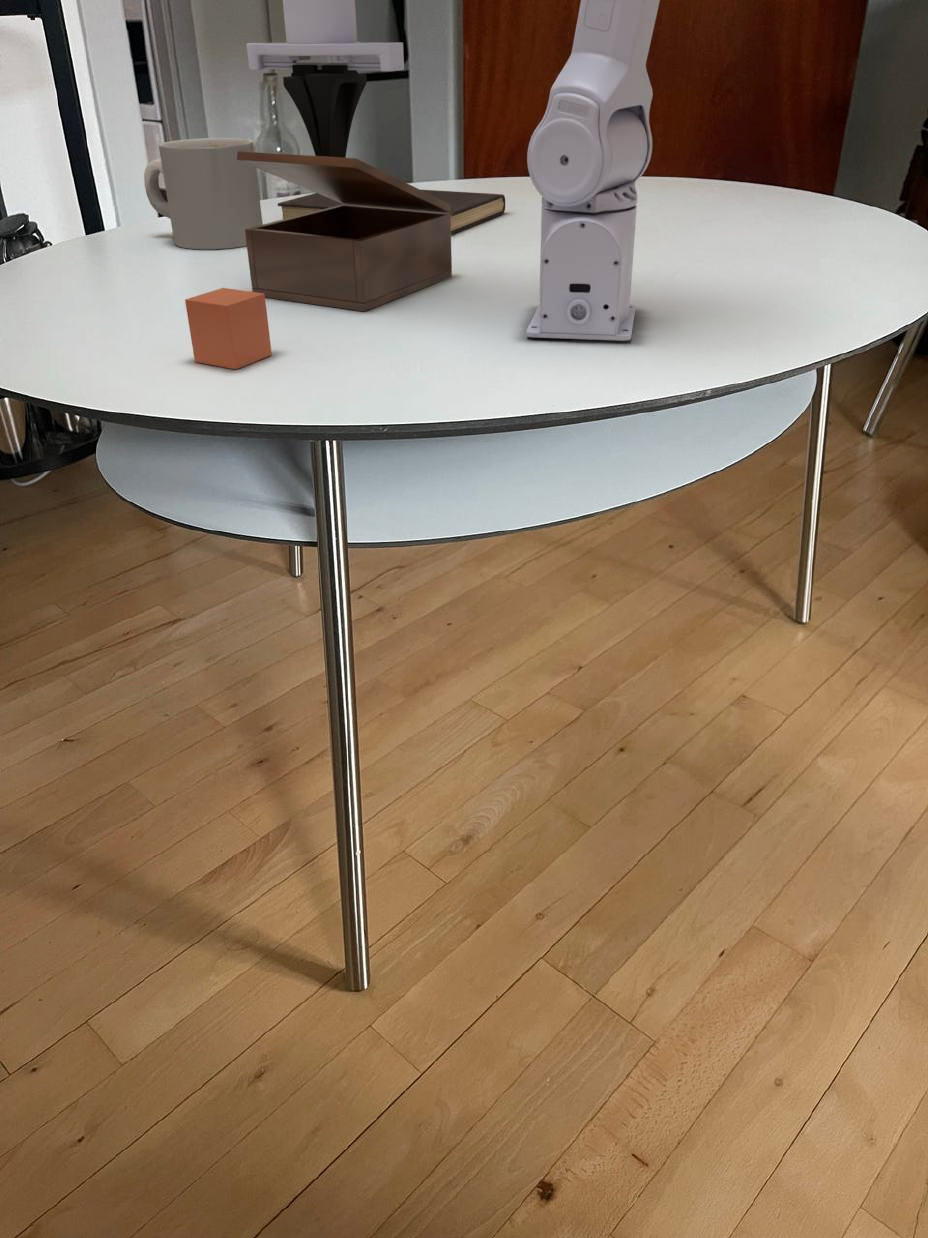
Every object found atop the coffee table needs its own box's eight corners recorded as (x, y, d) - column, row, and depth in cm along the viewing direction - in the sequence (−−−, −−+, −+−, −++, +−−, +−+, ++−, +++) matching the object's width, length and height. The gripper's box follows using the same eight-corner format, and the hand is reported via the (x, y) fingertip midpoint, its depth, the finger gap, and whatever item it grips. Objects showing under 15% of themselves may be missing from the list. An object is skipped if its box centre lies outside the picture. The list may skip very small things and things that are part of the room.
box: (364, 311, 84) (359, 240, 81) (252, 295, 89) (244, 228, 86) (452, 276, 94) (450, 213, 91) (347, 264, 100) (342, 203, 97)
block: (272, 355, 74) (265, 293, 71) (235, 369, 71) (227, 305, 68) (231, 347, 75) (223, 287, 73) (194, 361, 72) (184, 299, 70)
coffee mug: (282, 236, 113) (272, 139, 108) (221, 252, 106) (206, 149, 101) (197, 226, 119) (183, 134, 114) (134, 241, 112) (116, 143, 107)
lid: (355, 167, 78) (356, 157, 78) (236, 159, 84) (237, 150, 83) (450, 212, 91) (451, 204, 91) (342, 203, 97) (342, 195, 97)
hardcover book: (448, 236, 112) (448, 214, 110) (279, 223, 120) (277, 202, 119) (505, 213, 124) (505, 193, 123) (348, 202, 132) (347, 184, 131)
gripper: (422, -25, 78) (428, 165, 85) (278, -19, 84) (295, 156, 91) (369, -26, 72) (380, 175, 79) (221, -20, 79) (243, 166, 86)
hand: (331, 166), depth 85 cm, fingers closed
